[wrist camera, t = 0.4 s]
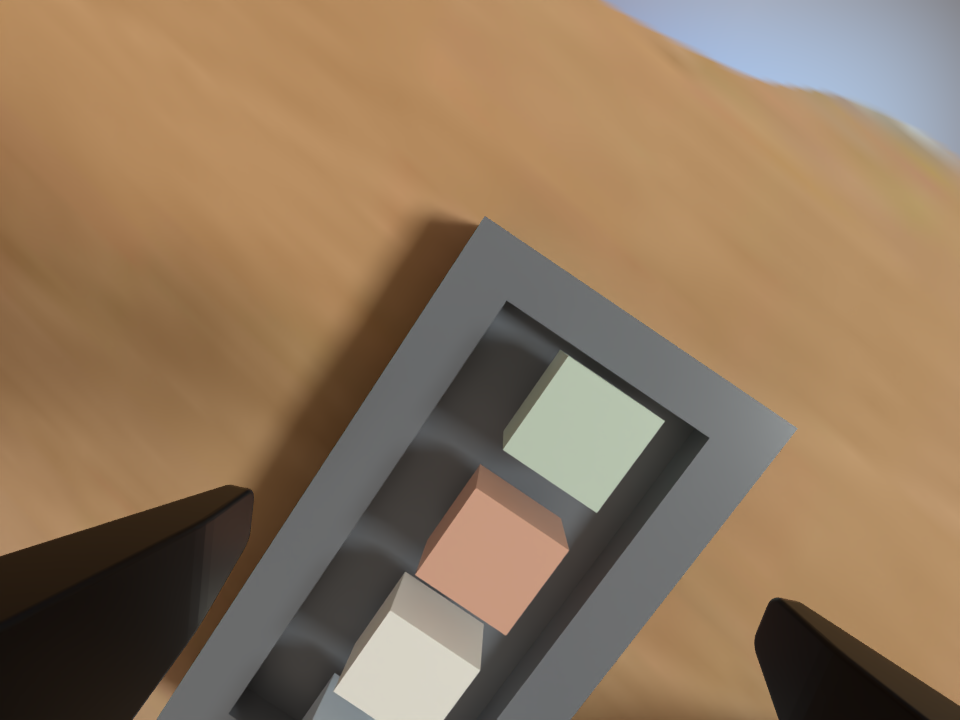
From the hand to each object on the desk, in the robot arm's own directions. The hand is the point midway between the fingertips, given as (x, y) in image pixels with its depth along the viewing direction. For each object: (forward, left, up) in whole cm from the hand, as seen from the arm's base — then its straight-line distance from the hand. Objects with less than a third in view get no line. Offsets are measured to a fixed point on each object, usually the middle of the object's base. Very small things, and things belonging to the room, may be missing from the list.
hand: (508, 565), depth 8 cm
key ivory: (-9, -2, -11) cm, 14 cm away
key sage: (+1, -2, -11) cm, 11 cm away
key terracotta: (-4, -2, -11) cm, 12 cm away
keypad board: (-7, -2, -13) cm, 15 cm away
